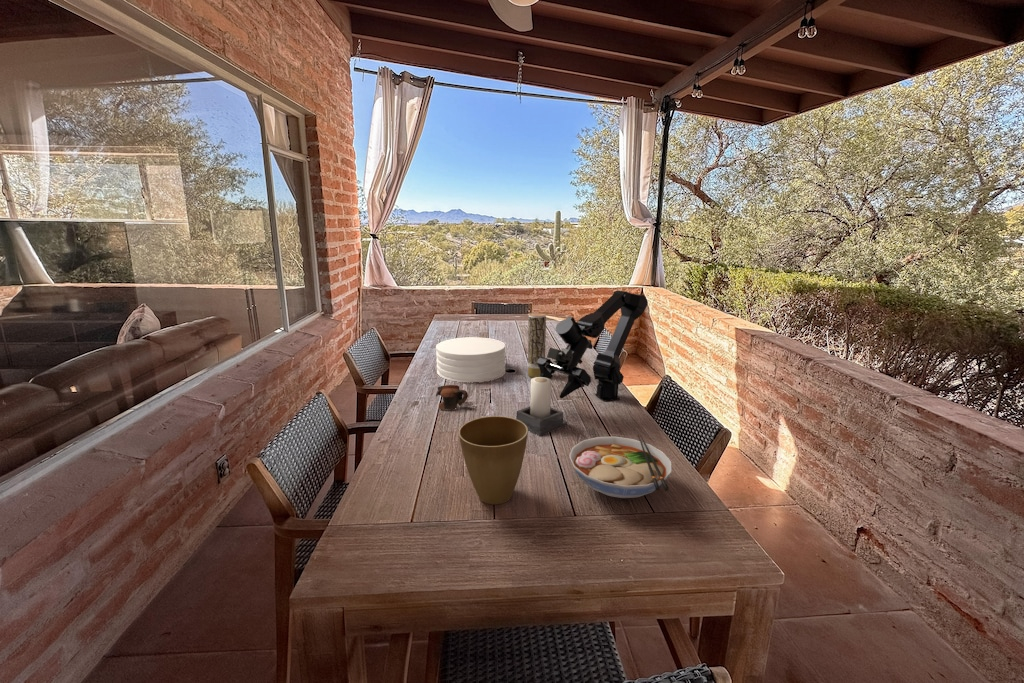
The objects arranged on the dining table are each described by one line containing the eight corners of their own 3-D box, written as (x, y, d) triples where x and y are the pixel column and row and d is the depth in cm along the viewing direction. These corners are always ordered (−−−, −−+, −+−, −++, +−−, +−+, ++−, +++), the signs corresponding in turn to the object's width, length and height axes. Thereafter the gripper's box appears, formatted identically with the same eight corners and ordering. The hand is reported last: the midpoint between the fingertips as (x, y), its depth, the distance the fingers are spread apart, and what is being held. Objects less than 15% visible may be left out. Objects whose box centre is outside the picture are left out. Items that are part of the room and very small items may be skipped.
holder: (539, 412, 147) (539, 401, 146) (567, 424, 138) (568, 412, 137) (511, 423, 139) (511, 411, 138) (539, 436, 131) (540, 423, 130)
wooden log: (543, 379, 179) (544, 316, 173) (526, 378, 181) (527, 316, 175) (545, 373, 186) (547, 313, 180) (529, 372, 187) (530, 312, 181)
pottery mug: (430, 411, 150) (429, 386, 152) (445, 413, 158) (444, 390, 160) (462, 406, 145) (461, 381, 148) (476, 409, 154) (475, 385, 156)
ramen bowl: (567, 458, 119) (568, 429, 117) (658, 463, 116) (660, 433, 114) (568, 517, 94) (569, 482, 92) (682, 525, 92) (686, 489, 90)
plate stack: (429, 367, 195) (428, 341, 192) (489, 359, 207) (489, 334, 204) (448, 387, 171) (447, 358, 168) (516, 377, 182) (516, 349, 179)
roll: (551, 417, 141) (552, 377, 138) (548, 426, 135) (549, 384, 132) (532, 416, 142) (532, 375, 139) (528, 423, 136) (529, 382, 133)
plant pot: (491, 471, 112) (490, 410, 108) (540, 492, 103) (541, 427, 99) (446, 498, 101) (443, 431, 97) (497, 525, 92) (496, 453, 88)
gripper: (540, 332, 145) (514, 372, 141) (586, 343, 132) (559, 388, 127) (556, 351, 152) (533, 390, 148) (602, 363, 139) (577, 407, 135)
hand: (549, 393), depth 139 cm, fingers open, 9 cm apart
